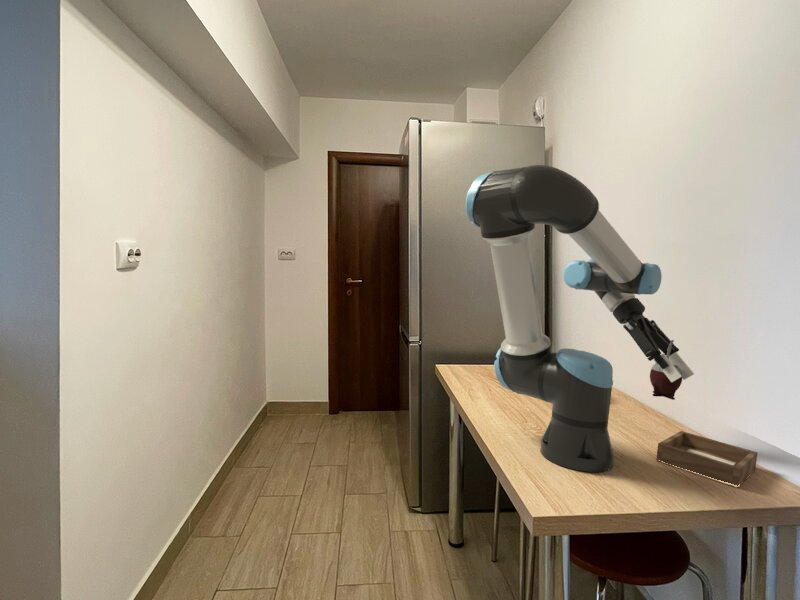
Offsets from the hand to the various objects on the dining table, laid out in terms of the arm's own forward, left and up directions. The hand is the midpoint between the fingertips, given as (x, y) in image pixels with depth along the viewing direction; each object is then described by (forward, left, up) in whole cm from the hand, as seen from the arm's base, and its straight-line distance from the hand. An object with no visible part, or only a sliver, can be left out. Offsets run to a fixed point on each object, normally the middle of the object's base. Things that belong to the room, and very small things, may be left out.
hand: (683, 377), depth 109 cm
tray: (-7, -8, -17) cm, 20 cm away
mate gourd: (0, +4, -6) cm, 7 cm away
